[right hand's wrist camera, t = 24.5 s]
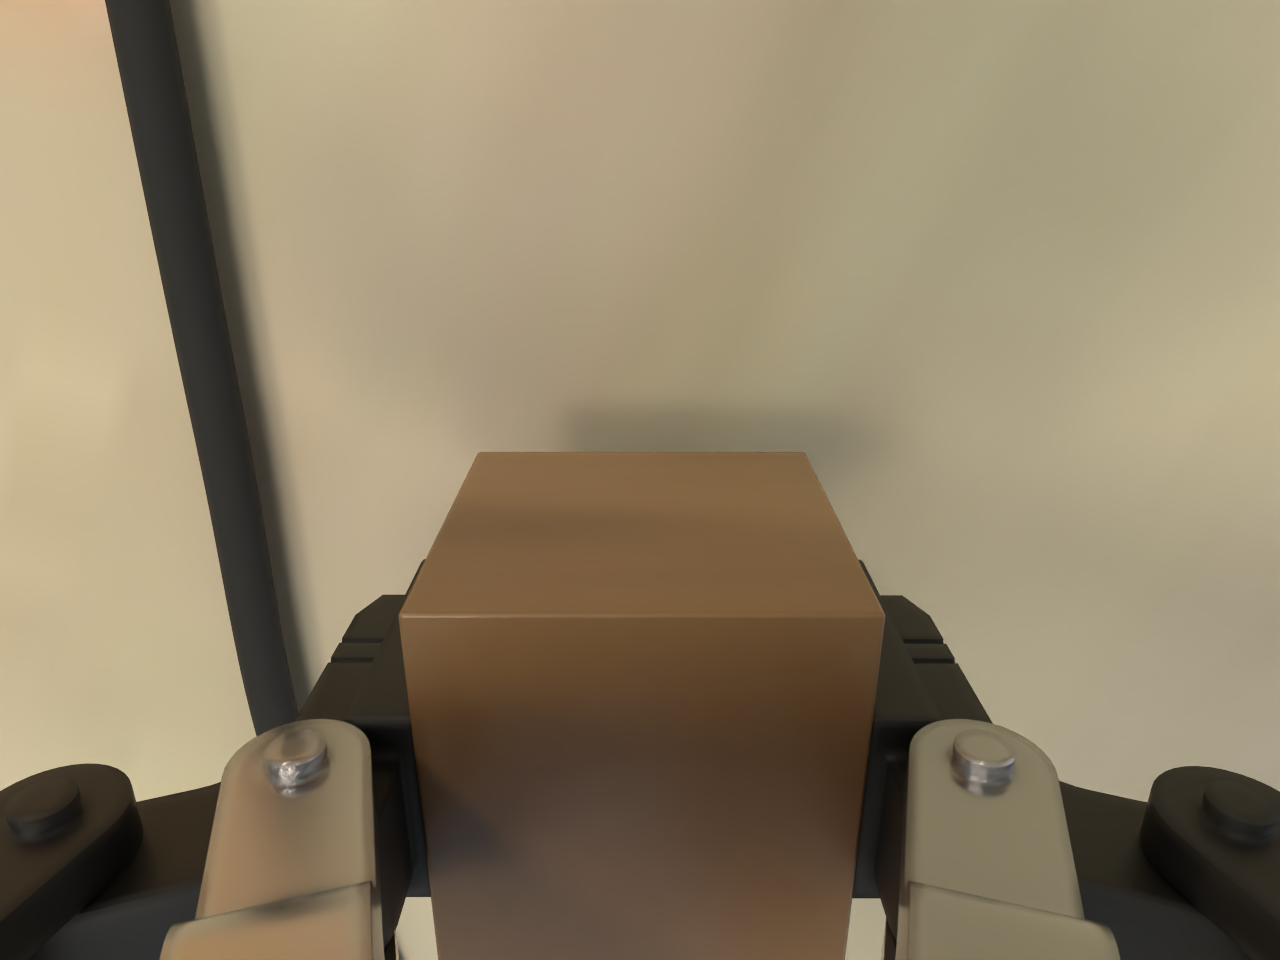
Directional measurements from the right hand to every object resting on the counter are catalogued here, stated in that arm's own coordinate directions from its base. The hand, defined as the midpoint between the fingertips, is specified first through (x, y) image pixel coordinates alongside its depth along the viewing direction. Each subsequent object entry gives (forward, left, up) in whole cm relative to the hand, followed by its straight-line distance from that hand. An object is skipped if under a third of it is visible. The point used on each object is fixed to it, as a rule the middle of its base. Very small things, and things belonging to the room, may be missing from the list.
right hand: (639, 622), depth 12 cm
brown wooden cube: (0, 0, -1) cm, 1 cm away
